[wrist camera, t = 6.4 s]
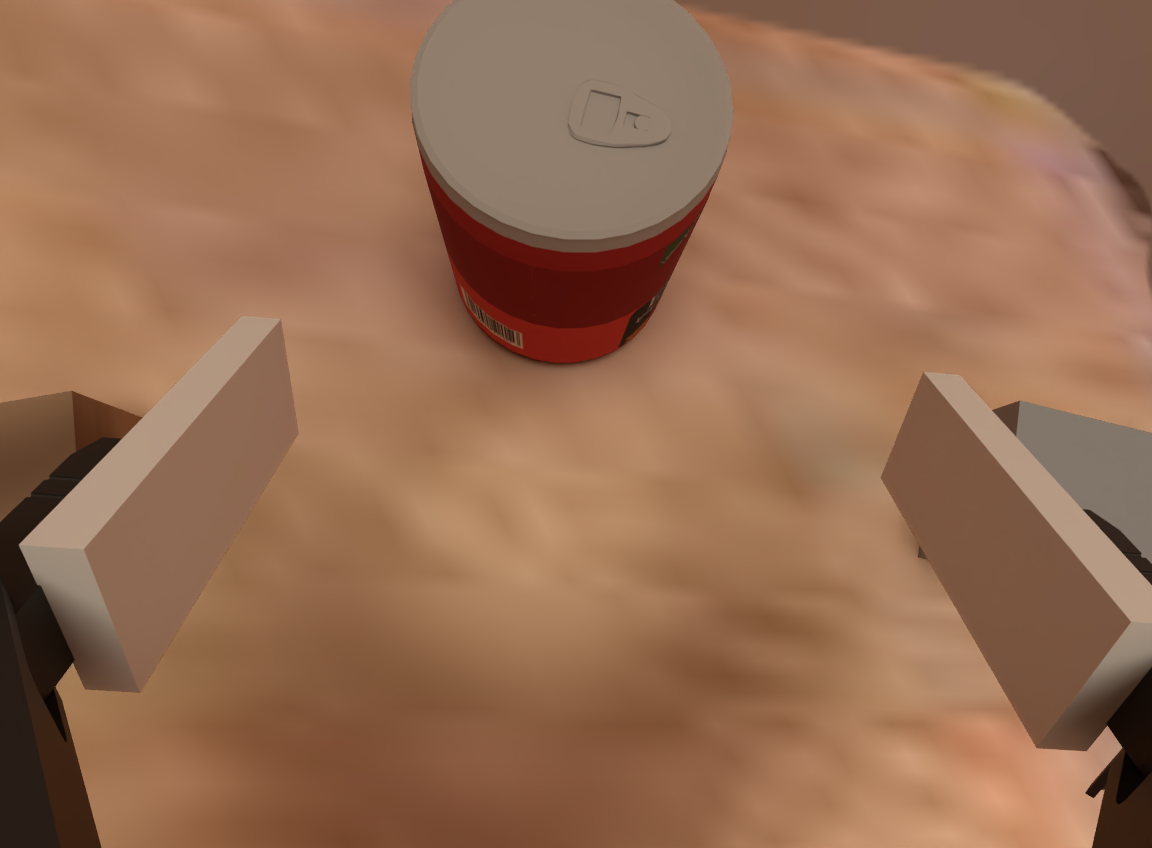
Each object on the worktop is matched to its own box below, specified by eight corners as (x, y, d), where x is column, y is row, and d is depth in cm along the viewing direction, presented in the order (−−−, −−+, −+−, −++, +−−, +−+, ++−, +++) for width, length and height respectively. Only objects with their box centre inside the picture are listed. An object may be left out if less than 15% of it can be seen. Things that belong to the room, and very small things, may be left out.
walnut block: (171, 560, 25) (83, 558, 20) (22, 589, 25) (-105, 594, 20) (159, 424, 26) (71, 391, 21) (15, 449, 25) (-109, 421, 21)
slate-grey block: (1045, 588, 27) (1160, 593, 22) (916, 557, 27) (1003, 555, 22) (1058, 460, 28) (1170, 437, 23) (933, 430, 28) (1020, 400, 23)
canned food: (663, 370, 27) (746, 243, 17) (454, 370, 27) (400, 239, 16) (656, 188, 29) (728, -37, 18) (458, 184, 28) (410, -49, 18)
